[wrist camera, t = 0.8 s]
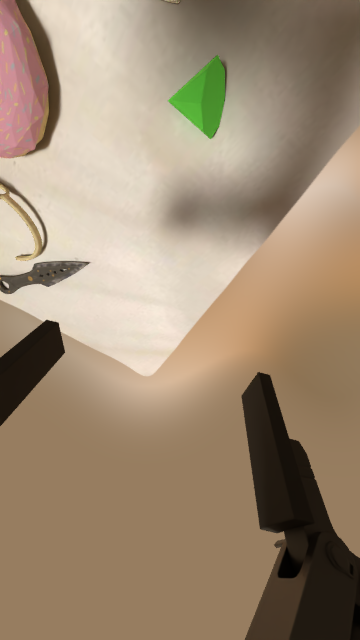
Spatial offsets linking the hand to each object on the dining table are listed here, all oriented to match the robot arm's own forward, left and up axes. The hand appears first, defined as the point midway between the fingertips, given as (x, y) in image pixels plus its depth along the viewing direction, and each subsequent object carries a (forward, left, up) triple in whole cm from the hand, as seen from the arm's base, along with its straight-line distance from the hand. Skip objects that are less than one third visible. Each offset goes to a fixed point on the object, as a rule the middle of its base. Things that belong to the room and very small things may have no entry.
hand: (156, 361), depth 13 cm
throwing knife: (-7, -25, -23) cm, 35 cm away
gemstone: (-16, +10, -21) cm, 28 cm away
